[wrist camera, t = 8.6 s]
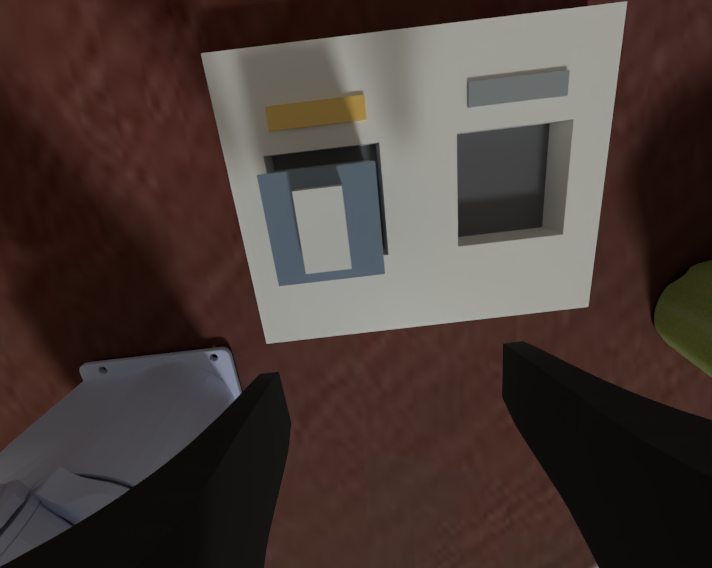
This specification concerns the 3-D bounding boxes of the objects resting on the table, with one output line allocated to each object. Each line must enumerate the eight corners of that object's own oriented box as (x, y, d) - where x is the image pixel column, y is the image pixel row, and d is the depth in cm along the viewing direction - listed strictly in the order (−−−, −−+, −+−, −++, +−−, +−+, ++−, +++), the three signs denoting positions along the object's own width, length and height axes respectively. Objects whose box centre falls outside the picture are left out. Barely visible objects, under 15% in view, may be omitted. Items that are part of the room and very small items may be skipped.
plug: (300, 243, 20) (274, 294, 12) (288, 168, 18) (250, 176, 11) (371, 235, 20) (387, 281, 12) (364, 159, 18) (377, 161, 11)
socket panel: (274, 324, 22) (265, 345, 19) (219, 67, 17) (198, 51, 15) (562, 291, 22) (590, 308, 19) (589, 22, 17) (631, -1, 14)
